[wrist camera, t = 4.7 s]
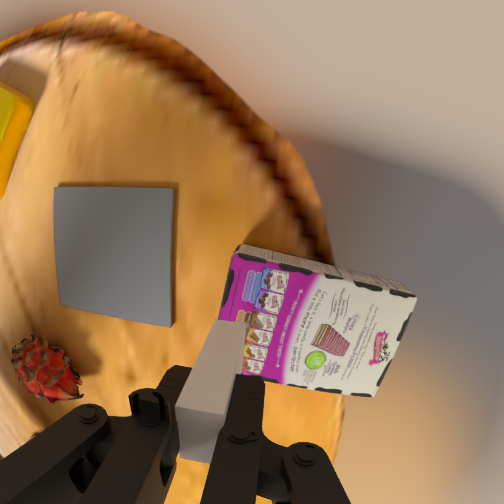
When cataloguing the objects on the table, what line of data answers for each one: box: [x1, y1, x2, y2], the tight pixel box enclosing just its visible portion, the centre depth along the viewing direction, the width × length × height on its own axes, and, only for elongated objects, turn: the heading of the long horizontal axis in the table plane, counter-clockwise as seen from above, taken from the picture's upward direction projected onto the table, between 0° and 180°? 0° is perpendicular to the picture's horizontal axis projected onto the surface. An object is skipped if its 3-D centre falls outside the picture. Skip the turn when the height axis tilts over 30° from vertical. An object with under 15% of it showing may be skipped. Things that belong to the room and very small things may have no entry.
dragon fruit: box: [11, 335, 84, 404], centre depth 30 cm, size 8×8×12 cm
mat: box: [54, 187, 175, 328], centre depth 29 cm, size 15×14×1 cm
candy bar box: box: [218, 244, 417, 398], centre depth 26 cm, size 11×5×16 cm
